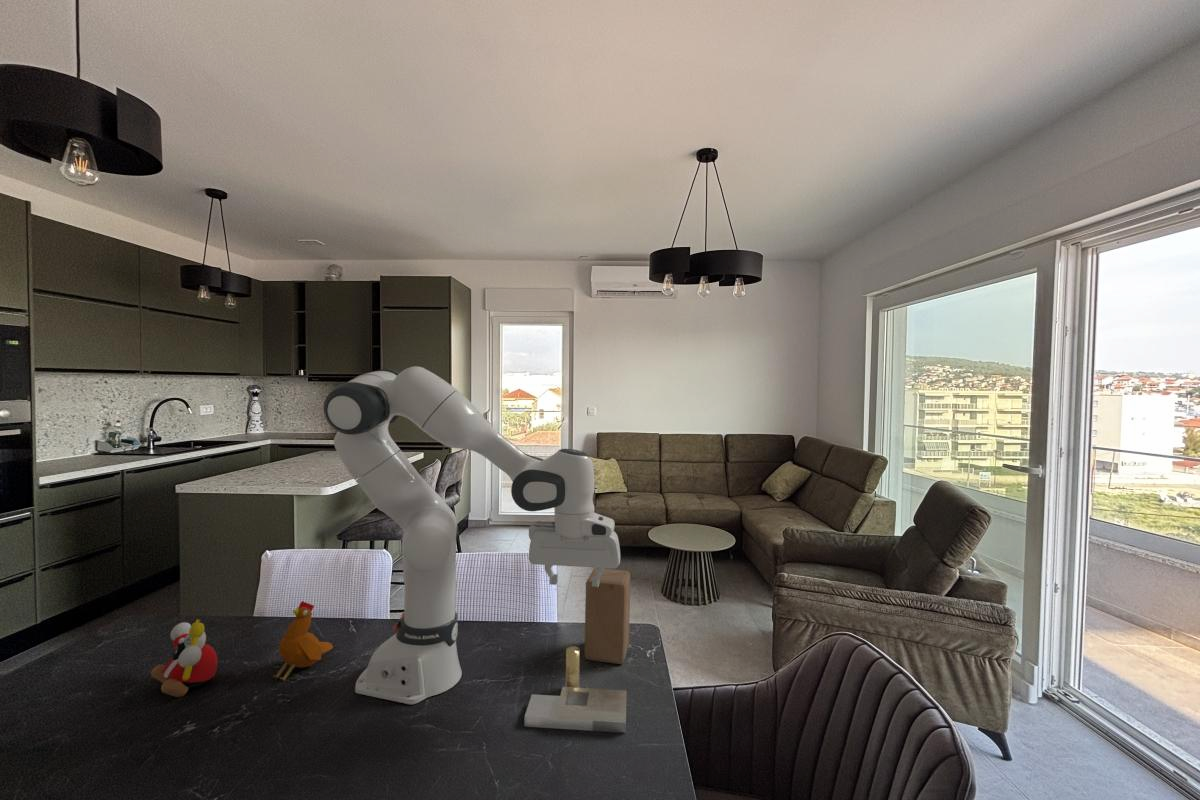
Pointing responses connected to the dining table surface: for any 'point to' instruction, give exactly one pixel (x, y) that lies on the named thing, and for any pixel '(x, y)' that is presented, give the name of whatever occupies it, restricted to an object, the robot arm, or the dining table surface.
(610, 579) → the wooden block
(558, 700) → the stepped socket block
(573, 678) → the pin
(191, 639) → the toy
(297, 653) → the toy
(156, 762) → the dining table surface
